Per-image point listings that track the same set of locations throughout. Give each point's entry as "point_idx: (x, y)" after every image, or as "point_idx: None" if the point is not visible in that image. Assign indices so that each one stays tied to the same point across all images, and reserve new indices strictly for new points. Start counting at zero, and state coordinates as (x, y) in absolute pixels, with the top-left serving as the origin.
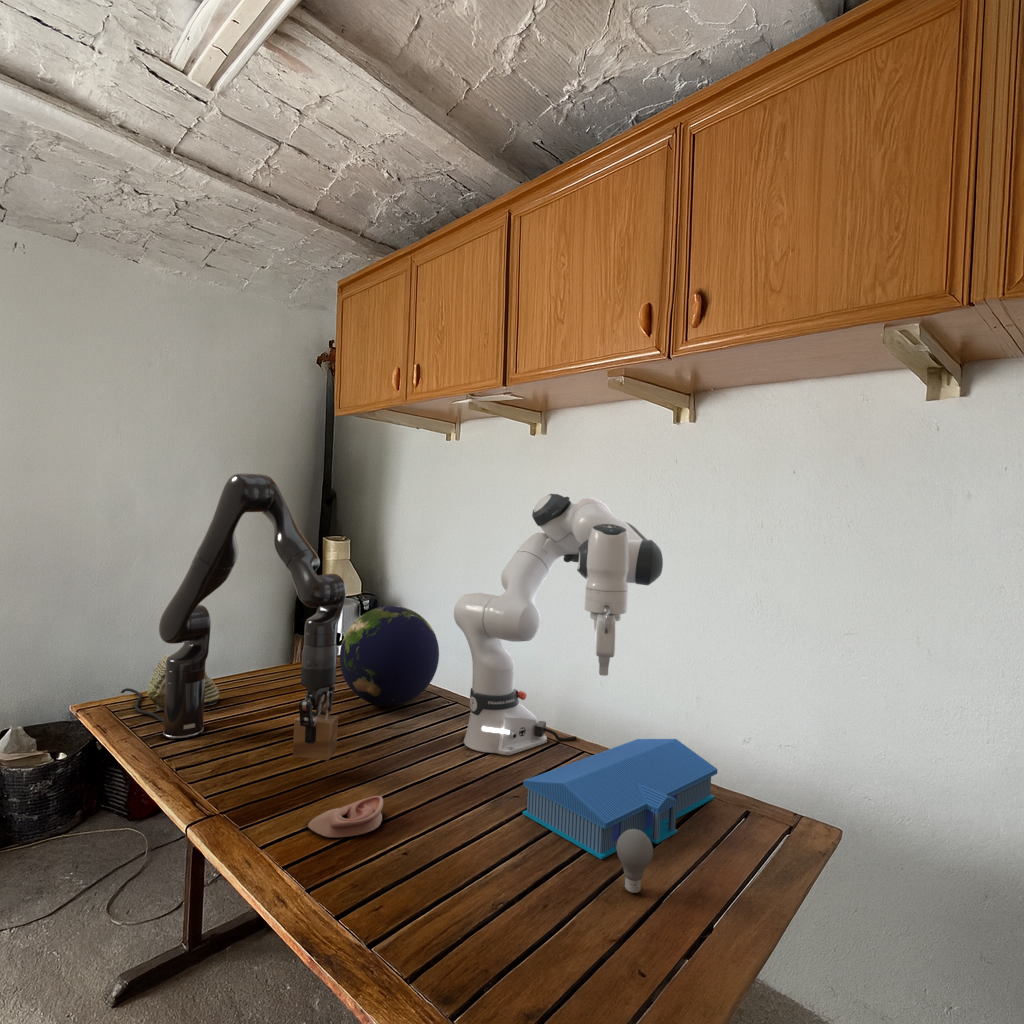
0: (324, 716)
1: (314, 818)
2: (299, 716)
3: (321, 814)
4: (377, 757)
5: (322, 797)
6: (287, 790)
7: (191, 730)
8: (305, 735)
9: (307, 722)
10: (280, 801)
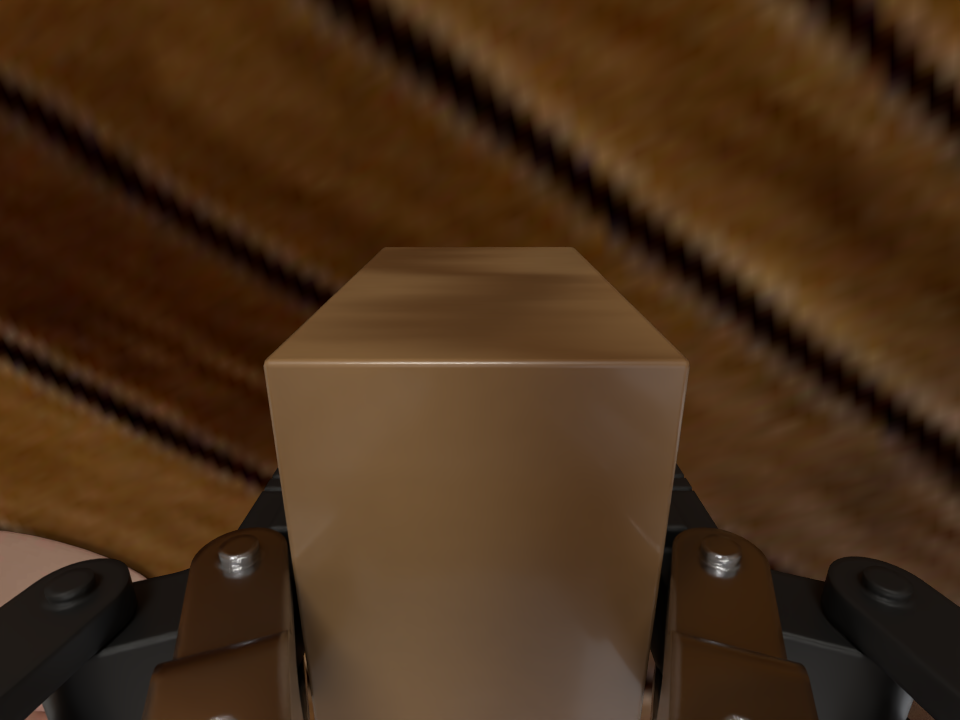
0: (567, 707)
1: (5, 556)
2: (455, 373)
3: (40, 576)
4: (797, 563)
5: (266, 477)
6: (275, 266)
7: None
8: (267, 485)
9: (48, 715)
10: (141, 292)
